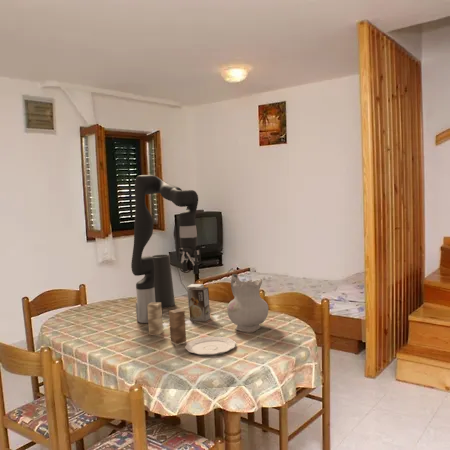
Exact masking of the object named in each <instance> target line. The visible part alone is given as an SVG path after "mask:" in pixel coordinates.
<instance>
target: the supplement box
mask: <svg viewBox="0 0 450 450" xmlns="http://www.w3.org/2000/svg"><path fill="white" fill-rule="evenodd" d="M192 287H205V286H204V284H203V283H191V284H189V285H188V286H186V288H187V293H188V289H190V288H192ZM187 305H188V306H187V307H189V296H188V295H187Z"/></svg>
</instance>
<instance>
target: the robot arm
mask: <svg viewBox="0 0 450 450" xmlns="http://www.w3.org/2000/svg"><path fill="white" fill-rule="evenodd" d="M154 194H160V196H161V197H162V198H164V199H165V200H168V201H170V202H172V203H173V204H174V205H175V206H176V207H180V208H184V207H186V209H185V210H184V211H183V212H182V211H181V212H180V214H179V217H178V219H179V232H178V233H179V246H180V248H178V250H177V251H178V262H180V264H181V268H182V270H181V271H182V272H183V273H184V272H185V273H187V272H188V261H190V262H191V264H192V272H193V275H199V265H201V264H202V255H201V250H200V249H198V250H196V247H198V234H197V233H198V232H197V226H196V225H197V224H196V222H197V221H196V220H197V219H196V215H197V209H198V205H199V195H198V193H197V192H196V191H195V190H193V189H190V190H189V189H186V190H185V189H182V188H180V187H178V186H176V185H173V184H170V183H168V182H165V181H164V180H162V179H161V178H160V177H158V176H156V175H154V174H141V175H137V176H136V177H135V179H134V203H135V208H134V209H135V210H134V223H133V224H134V228H133V248H132V256H131V263H130V264H131V265H130V266H131V267H130V268H131V273H132V274H133V276H135V277H139V276H144V277H143V278H141V279H140V280H139V281H137V282H136V283H135V289H136V290H135V291H136V293H135V294H136V302H135V311H136V314H135V315H136V322H139V323H140V324H148V310H147V305H148V304H149V303H151V302H155V288H154V283H155V265H154V260H153V258H152V257H151V256H152V255H145V256H143V251H144V249H145V247H146V245H147V244H148V243H149V241H150V240H151V238H152V236H153V233H154V219H153V216H152V214H151V212H150V210H149V209H148V207H147V204H146V195H154Z"/></svg>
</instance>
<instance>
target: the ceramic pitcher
mask: <svg viewBox="0 0 450 450" xmlns="http://www.w3.org/2000/svg"><path fill="white" fill-rule="evenodd" d="M262 283H263V279H261V278H260V279H259V280H257V279H256V280H255V281H254V280H252V279H249V280H246V281H245V280H240V278H239V276H238V274H236V273H232V275H231V278H230V287H231V292H232V295H233V297H234V298H233V299H231V300H230V302H229V303H228V305H227V307H226V308H227V317H228V319H229V320H230V321H231V323H232V324H234V325H236V327H235V330H237V331H240V332H242V333H254V332H256V331H258V330H259V329H261V328H262V327H261V324H263V323H264V322H265V321H266V320H267V318H268V314H269V304H268V303H267V301H265V299H263V298H262V297H261V295H260V289H261V286H262V285H263V284H262Z"/></svg>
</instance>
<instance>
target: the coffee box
mask: <svg viewBox="0 0 450 450" xmlns="http://www.w3.org/2000/svg"><path fill="white" fill-rule="evenodd" d="M209 293H210V291H209V287H207V286H206V287H205V286H204V287H192V288H190V289H188V292H187V297H188V296H189V306H188V309H189V310H188V311H189V320H190V321H194V322H195V321H197V322H207V321H208V320H210V319H211V307H210V297H209V296H210V294H209Z"/></svg>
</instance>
